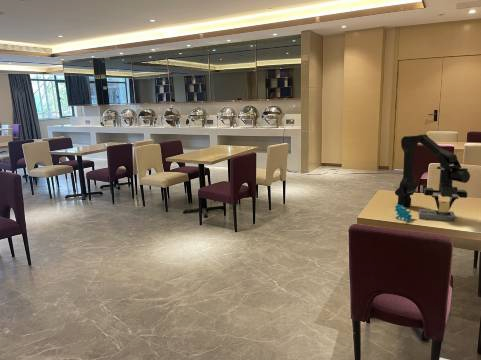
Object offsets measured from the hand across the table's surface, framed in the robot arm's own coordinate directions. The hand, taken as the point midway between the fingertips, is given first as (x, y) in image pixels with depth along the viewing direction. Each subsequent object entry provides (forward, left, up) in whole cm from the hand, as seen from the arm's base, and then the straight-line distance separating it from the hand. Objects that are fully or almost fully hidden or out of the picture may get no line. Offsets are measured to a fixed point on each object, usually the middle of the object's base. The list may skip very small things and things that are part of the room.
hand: (443, 209), depth 187 cm
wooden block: (0, 0, -1) cm, 1 cm away
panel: (-3, 0, -5) cm, 6 cm away
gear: (-18, -9, -5) cm, 21 cm away
